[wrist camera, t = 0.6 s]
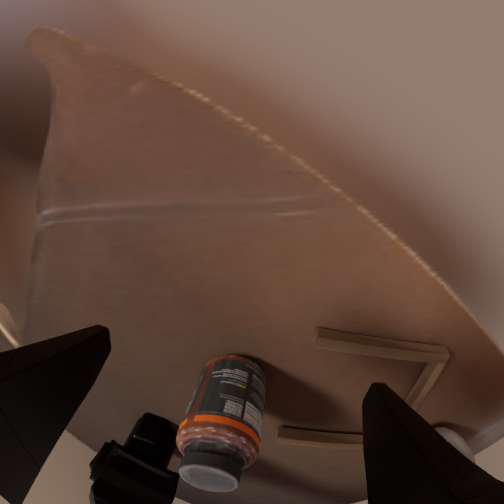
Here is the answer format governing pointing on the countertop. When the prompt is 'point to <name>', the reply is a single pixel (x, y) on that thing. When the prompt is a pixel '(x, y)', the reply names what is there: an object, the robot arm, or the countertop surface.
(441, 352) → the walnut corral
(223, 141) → the countertop surface
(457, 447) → the donut
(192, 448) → the supplement bottle
